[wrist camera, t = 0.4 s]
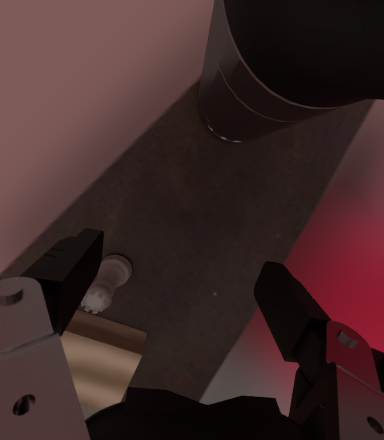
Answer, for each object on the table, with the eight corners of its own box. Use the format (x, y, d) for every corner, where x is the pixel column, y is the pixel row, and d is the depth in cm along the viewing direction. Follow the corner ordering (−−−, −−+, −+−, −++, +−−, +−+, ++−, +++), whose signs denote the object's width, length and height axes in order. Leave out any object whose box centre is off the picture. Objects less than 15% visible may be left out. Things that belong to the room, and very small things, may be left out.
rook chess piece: (115, 286, 31) (91, 328, 23) (94, 264, 30) (62, 299, 22) (139, 270, 30) (123, 307, 22) (119, 247, 29) (94, 277, 21)
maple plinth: (72, 307, 31) (56, 328, 28) (147, 332, 33) (142, 355, 29) (52, 365, 34) (35, 391, 30) (122, 385, 36) (115, 412, 32)
